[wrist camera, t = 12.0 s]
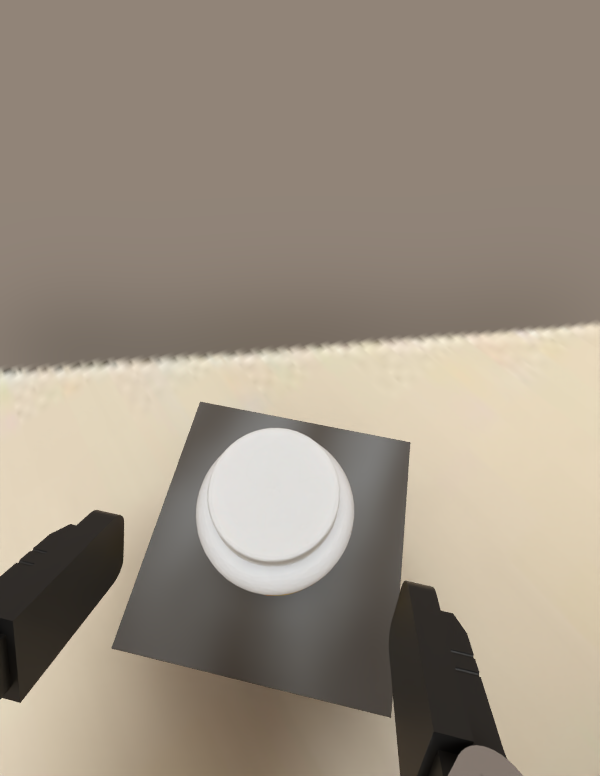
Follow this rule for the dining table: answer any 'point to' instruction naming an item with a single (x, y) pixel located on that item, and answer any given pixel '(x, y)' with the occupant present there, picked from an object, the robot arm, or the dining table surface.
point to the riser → (287, 612)
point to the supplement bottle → (275, 512)
